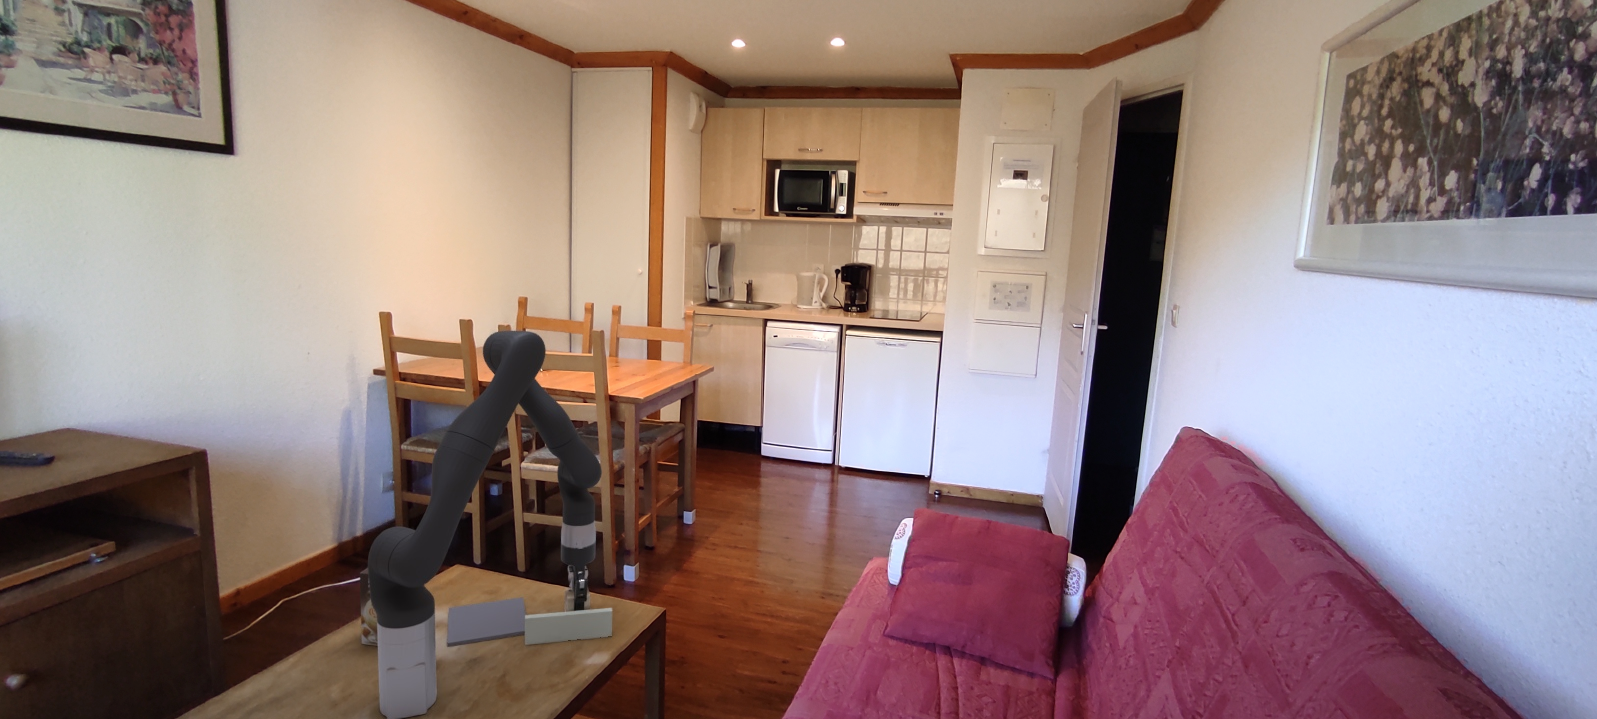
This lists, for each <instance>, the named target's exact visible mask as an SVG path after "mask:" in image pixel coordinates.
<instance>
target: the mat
mask: <svg viewBox="0 0 1597 719" xmlns="http://www.w3.org/2000/svg"><path fill="white" fill-rule="evenodd" d="M524 600H525V599H524V597H514V598H508V599H501V600H494V601H487V602H478V603H472V604H465V605H464V604H463V605H459V606H458V605H457V606H452V607H451V606H449V607H448V619H447V636H446V637H447V642H446V643H447V644H446V646H447V648H448V647H454V646H461V645H467V644H473V643H478V642H479V643H480V642H484V641H485V642H486V641H490V640H491V641H492V640H497V639H503V638H504V639H505V638H510V637H515V636H522V635H523V636H524V635H525V615H527V614H526V607H525V601H524Z"/></svg>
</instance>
